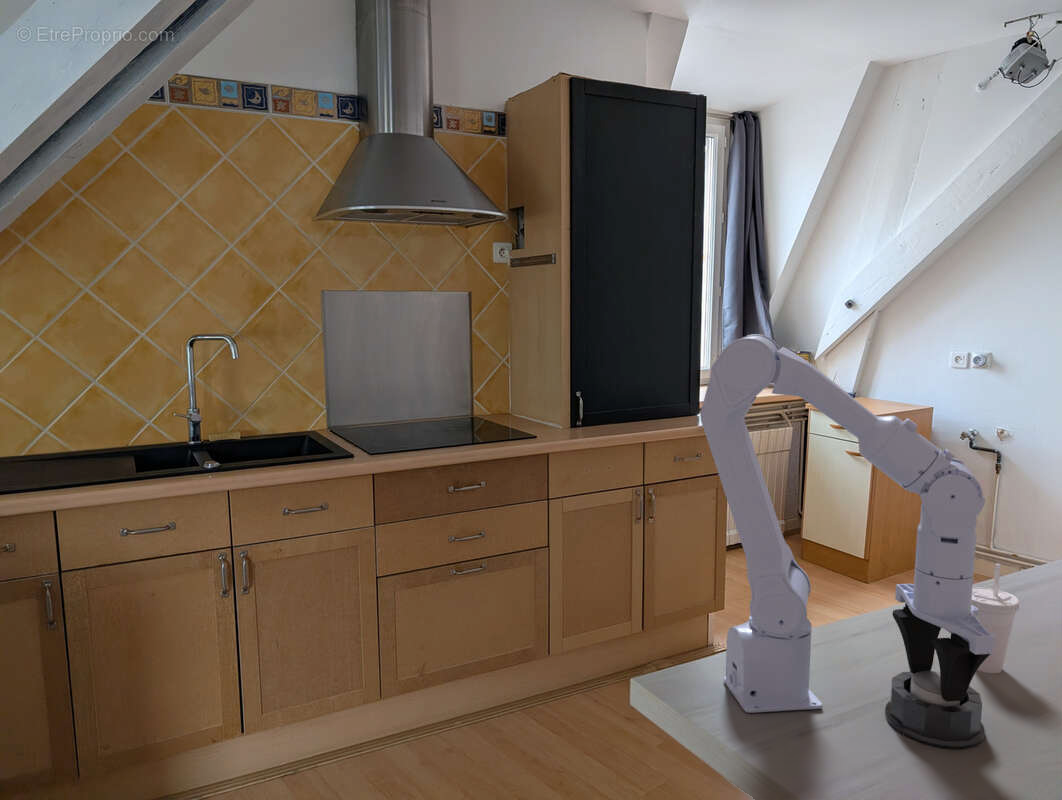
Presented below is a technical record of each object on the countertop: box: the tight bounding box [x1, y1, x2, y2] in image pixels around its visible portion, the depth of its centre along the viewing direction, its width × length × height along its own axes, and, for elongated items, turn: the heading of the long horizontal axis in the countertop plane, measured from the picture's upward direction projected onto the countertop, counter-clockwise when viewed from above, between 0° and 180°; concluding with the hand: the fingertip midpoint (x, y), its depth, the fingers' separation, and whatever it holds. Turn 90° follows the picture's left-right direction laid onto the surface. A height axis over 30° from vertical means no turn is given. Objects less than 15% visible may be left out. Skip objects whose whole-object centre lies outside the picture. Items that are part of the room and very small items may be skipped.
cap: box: [910, 670, 960, 706], centre depth 86 cm, size 5×5×4 cm
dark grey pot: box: [884, 671, 986, 750], centre depth 86 cm, size 10×10×4 cm
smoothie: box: [971, 563, 1020, 674], centre depth 99 cm, size 6×6×14 cm
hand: (935, 685), depth 86 cm, fingers open, 5 cm apart
